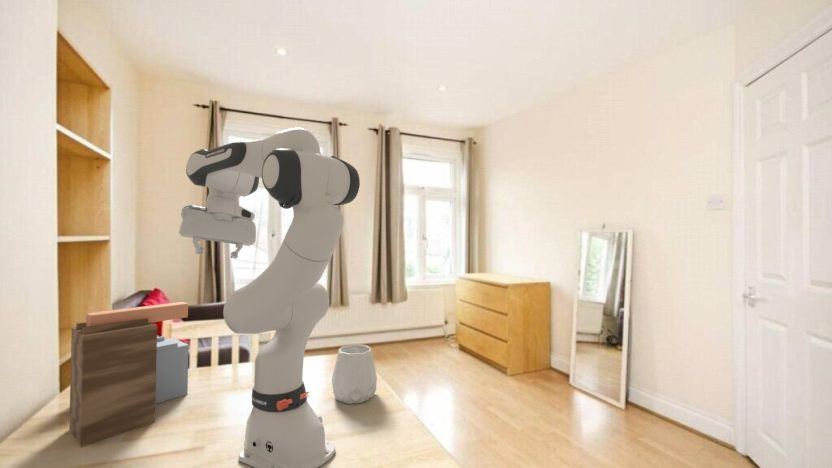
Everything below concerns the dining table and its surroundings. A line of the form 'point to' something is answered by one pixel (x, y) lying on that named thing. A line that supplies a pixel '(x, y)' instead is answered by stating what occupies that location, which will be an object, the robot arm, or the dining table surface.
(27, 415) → the dining table surface
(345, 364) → the vase
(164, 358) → the step
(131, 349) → the stand
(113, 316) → the baton
